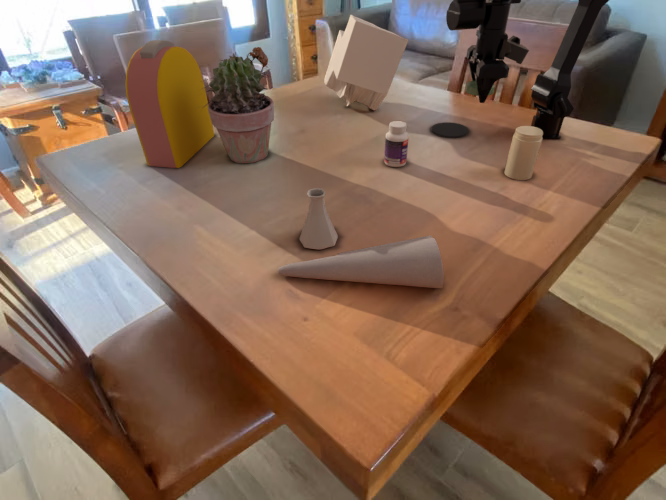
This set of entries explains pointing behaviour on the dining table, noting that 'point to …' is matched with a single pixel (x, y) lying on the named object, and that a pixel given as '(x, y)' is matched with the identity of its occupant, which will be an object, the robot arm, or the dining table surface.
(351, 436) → the dining table surface
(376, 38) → the beige tilted block
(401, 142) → the pill bottle
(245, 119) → the potted plant
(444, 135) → the coaster
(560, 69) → the robot arm
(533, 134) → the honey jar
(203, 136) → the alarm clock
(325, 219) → the flask
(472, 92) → the lid
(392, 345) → the dining table surface
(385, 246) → the grey long cone
